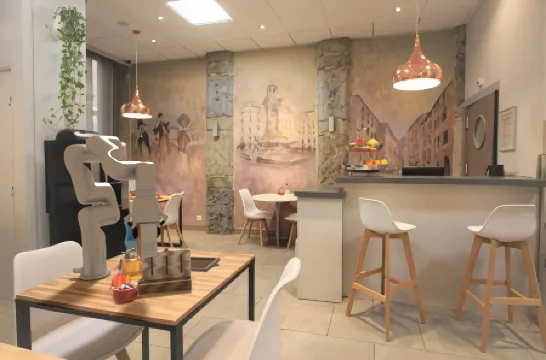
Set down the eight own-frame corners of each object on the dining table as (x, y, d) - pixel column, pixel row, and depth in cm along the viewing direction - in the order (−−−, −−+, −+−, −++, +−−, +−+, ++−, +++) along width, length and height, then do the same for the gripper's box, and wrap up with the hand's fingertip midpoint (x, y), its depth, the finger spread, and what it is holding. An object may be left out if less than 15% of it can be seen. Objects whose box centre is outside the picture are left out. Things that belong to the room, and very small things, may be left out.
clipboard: (170, 256, 183) (224, 257, 177) (171, 259, 183) (225, 260, 178) (152, 266, 164) (212, 269, 159) (152, 270, 164) (212, 272, 159)
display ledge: (138, 294, 132) (137, 258, 131) (143, 282, 146) (141, 249, 145) (191, 289, 137) (190, 254, 136) (191, 277, 151) (190, 246, 150)
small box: (136, 253, 138) (135, 221, 137) (152, 251, 141) (152, 220, 140) (141, 258, 131) (140, 224, 130) (157, 256, 134) (157, 223, 134)
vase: (125, 259, 181) (123, 222, 180) (133, 255, 188) (132, 219, 187) (138, 260, 179) (137, 222, 178) (146, 256, 187) (145, 219, 186)
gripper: (120, 194, 129) (121, 240, 130) (168, 194, 133) (169, 238, 134) (124, 192, 136) (125, 236, 137) (169, 192, 140) (170, 234, 141)
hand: (146, 237), depth 136 cm, fingers closed on small box, 7 cm apart
